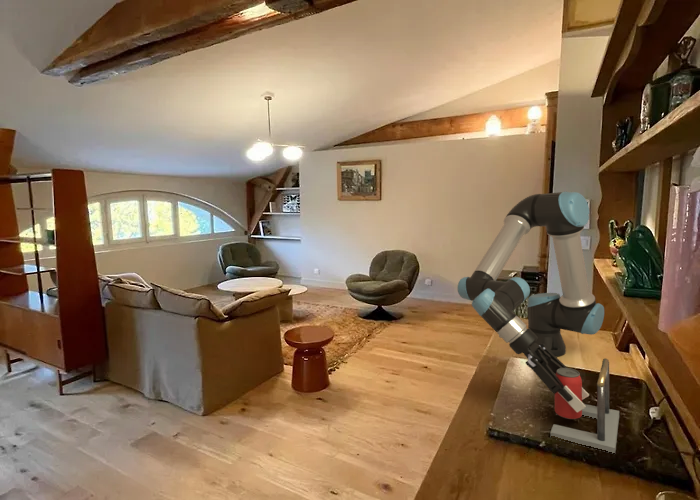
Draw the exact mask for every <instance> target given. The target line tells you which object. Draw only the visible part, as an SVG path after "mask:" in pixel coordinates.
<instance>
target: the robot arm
mask: <svg viewBox="0 0 700 500" xmlns="http://www.w3.org/2000/svg"><path fill="white" fill-rule="evenodd" d="M589 215H590V206H589V204H588V201H587V199H586V197H585V196H584V195H583V194H581V193H580V192H577V191H562V192H561V191H560V192H551V193H550V192H549V193H548V192H547V193H535V194H531V195H529V196H526V197H525V198H523V199H522V200H520V201H519V202H518V203H516V204H515V205H514V206H513V207H512V208H511V209H510V210H509V212H507V214H506V215H505V217H504V219H503V224H504V225H503V226H502V228H501V229H500V231H498V233H497V235H496V236H495V238H494V240H493V241H492V243H491V244H490V246H489V247H488V249H487V251H486V252H485V254H484V256H483V257H482V259H481V260H480V262H479V264H477V267H476V268H475V269H474V271H473V272H472V274H471V276H464V277H461V278H460V280H459V281H458V282H457V283H458V284H457V293H458V295H459V297H460V298H462V299H464V300H469V301H471V306H472V308H473V309H474V311H475V312H476V313H477V314H478V315H479V316H480V317H481V318H482V319H483V320H484V322H485V323H487V324H488V325H489V326H490V328H492V329H493V331H494V332H495V333H496V334H498V337H499V338H500V339H503V341H504V342H505V343H509V344H508V346H509V348H511V349H512V350H513V352H515V354H516V355H521V354H523V355H524V356H525V357H526V359H527V360H526V361H525V364H526V365H527V367H529V368H530V369H531V370H532V371H533V372H534V374H535V375H537V377H538V378H539V379H540V380H541V381H542V382H543V384H544V385H545V386H546V387H547V388H548V389H549V390H550V391H551V392H552V393H553V395H555V393H557V392H558V393H559V394H560V395H561V396H562V397H563V398H564V399H565V400H566V401H567V402H568V403H569V405H570V406H571V407H572V408H573V409H574V410H575V411H576V412H579V411H581V410H582V409H584V408H585V407H586V406H585V405H584V404H585V403H584V402H583V400H585V399H586V398H588V397H589V396H590V393H588V392H587V391H586V390H585V389H584V387H582V401H581V400H580V399H579V398H578V397H577V396H576V395H575V394H574V393H573V392H572V391H571V390H570V389H569V388H568V387H567V386H564V385H563V384H562V383H561V381H560V380H559V379H558V377H557V376H556V371H557V370H558V369H560V368H568V367H567V366H566V365H565V364H564V363H563V362H562V361H561V360H560V359H558V357H561V356H564V355H565V354H566V351H567V347H566V344H565V341H564V338H563V336H562V333H561V330H564V331H569V332H574V333H580V334H582V335H584V334H585V335H591V336H592V335H595V334H597V333H598V332H599V331H600V329H601V328H602V325H603V322H604V317H605V307H604V305H603V304H601V303H599V302H598V303H597V301H596V296H595V295H594V294H593V293H591V292H590V287H589V282H588V275H587V270H586V263H585V258H584V257H585V256H584V252H583V250H584V249H583V246H582V239H581V233H582V231H584V229H585V227H584V226H586V225H587V224H588V222H589V219H590V216H589ZM535 227H545V231H546V234H547V235H548V236H550V237H551V238H552V242H553V247H554V253H555V260H556V264H557V271H558V275H559V276H558V277H559V281H560V287H561V292H562V295H560V293H556V292H541V293H536V294H532V295H530V293H531V287H530V285H529V284H528V282H527V281H526V280H525V279H524V278H522V277H518V276H515V277H511V278H509V279H507V281H502V280H498V278H499V276H500V274H501V273H502V271H503V270H504V268H505V266H506V264H507V263H508V261H509V260H510V259H511V256H512V255H513V253H514V252H515V250H516V248H517V247H518V246H519V243H520V242H521V240H522V238H524V237H523V236H525V235H527V234H529V232H530V231H531V229H532V228H535ZM526 299H527V323H528V325H527V324H526V323H525V322H523V320H522V319H521V318H520V317H518V315H517V314H516V313H514V312H513V311H514V310H515V309H517V308H518V307H519V306H520V305H521V304H522V303H524V302H525V300H526ZM527 327H528V328H527Z"/></svg>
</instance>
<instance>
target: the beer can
mask: <svg viewBox="0 0 700 500" xmlns="http://www.w3.org/2000/svg"><path fill="white" fill-rule="evenodd" d="M555 375H556V376H557V377H558V379H559V380H560V381H561V383H562V384H563V385H564V386H567V387H568V388H569V389H570V390H571V391H572V392H573V393H574V394H575V395H576V396H577V397H578V398H579V399H580V400H581V401H582V402H583V400H582V388H583V380H582V377H581V375H580V372H579V371H578V370H576V369H574V368H570V367H567V368H560V369H558V370H557V371H556V374H555ZM554 412H555V414H556V415H558V416H559V417H561V418H564V419H568V420H578V419H580V418H581V417H583V416H582V410H581V411H579V412H576V411H575V410H574V409H573V408H572V407H571V406H570V405H569V403H568V402H567V401H566V400H565V399H564V398H563V397H562V396H561V395H560V394H559V393H558V392H557V393H555V394H554Z"/></svg>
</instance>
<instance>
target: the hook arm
mask: <svg viewBox="0 0 700 500" xmlns="http://www.w3.org/2000/svg"><path fill="white" fill-rule="evenodd" d="M596 398H597V400H596V402H597V404H596V406H597V419H596V421H597V423H596V426H597V427H596V429H597V432H596V434H597V439H598V440H600V441H605V414H609V409H610V361H609V359H608V358H603V359H602V362H601V366H600V371H599V373H598V379H597V383H596Z"/></svg>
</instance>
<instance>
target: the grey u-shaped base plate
mask: <svg viewBox="0 0 700 500" xmlns="http://www.w3.org/2000/svg"><path fill="white" fill-rule="evenodd" d="M583 404H584V405H585V406H586V407H585V408H584V409H582V415H584V416H583V417H585V416H589V417H588V418H590V417H592V418H591V419H594V418H596V419H595V420H597V405H596V406H595V405H591V404H587V403H583ZM619 421H620V410H616V409H610V408H609V414H605V441H600V440H598V439H597V433H594V432H589V431H585V430H580V429H576V428H572V427H568V426H564V425H559V424H553V425H552V427H551V430H550V433H549V434H550V437H551V436H555V437H558V438H561V439H564V440H568V441H571V442H575V443H578V444H582V445H586V446H591V447H594V448H598V449H602V450H606V451H608V452H607V453H609V452H612V453H611V454H613V453H615V454H616V450H617V441H618V440H617V439H618V431H619V430H618V429H619V424H620V423H619Z"/></svg>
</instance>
